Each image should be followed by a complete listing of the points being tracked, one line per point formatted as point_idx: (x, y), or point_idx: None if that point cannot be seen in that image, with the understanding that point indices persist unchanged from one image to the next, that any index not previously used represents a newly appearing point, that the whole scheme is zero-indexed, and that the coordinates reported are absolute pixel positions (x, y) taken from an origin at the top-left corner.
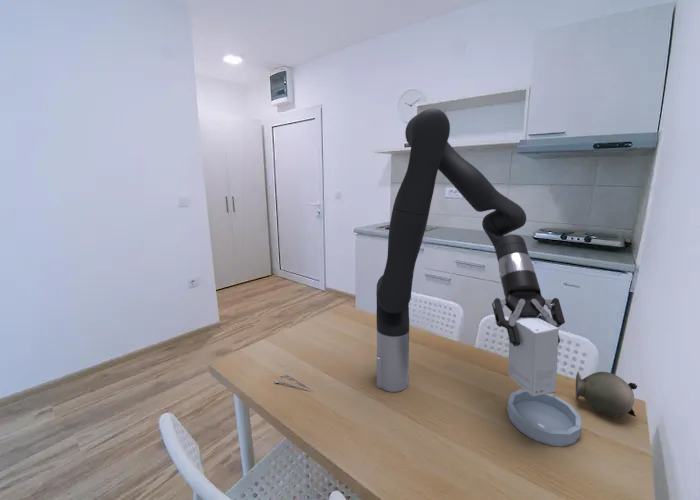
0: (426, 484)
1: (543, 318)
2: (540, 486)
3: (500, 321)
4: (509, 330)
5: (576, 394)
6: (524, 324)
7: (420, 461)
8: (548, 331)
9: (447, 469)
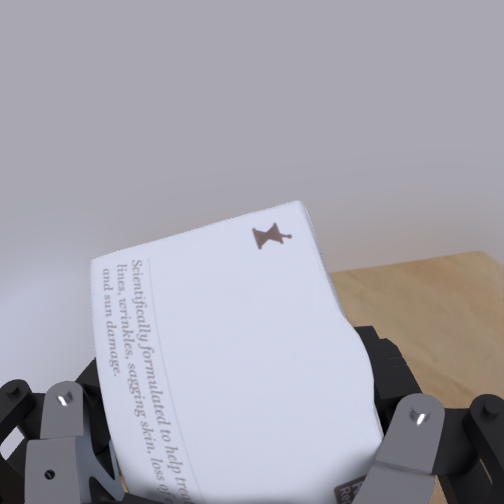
0: (441, 269)
1: (94, 459)
2: None
3: (501, 399)
4: (417, 388)
5: (118, 468)
6: (341, 351)
7: (452, 304)
8: (182, 234)
9: (418, 297)
